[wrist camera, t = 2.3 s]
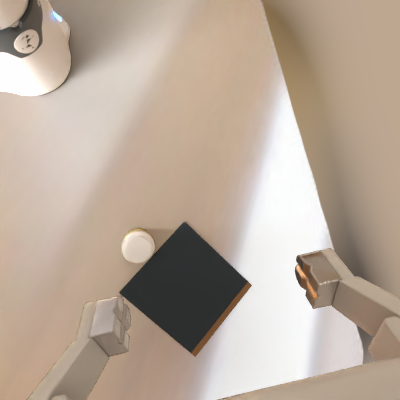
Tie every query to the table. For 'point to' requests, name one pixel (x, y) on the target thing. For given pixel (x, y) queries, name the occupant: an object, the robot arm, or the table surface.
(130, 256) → the supplement bottle
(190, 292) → the mat
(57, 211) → the table surface
